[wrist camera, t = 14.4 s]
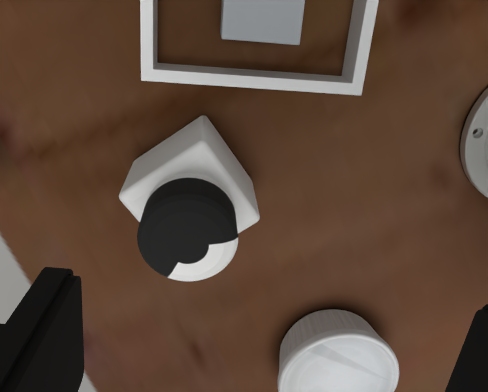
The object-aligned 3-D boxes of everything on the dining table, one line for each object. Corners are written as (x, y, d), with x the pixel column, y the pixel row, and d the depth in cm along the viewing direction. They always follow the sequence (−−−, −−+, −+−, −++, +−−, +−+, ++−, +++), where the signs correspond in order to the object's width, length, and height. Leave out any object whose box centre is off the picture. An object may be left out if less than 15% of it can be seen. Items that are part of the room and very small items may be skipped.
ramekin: (384, 293, 45) (405, 330, 40) (377, 379, 49) (395, 421, 44) (269, 303, 44) (276, 342, 39) (273, 389, 49) (280, 433, 44)
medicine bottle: (132, 160, 37) (99, 232, 26) (204, 112, 36) (202, 166, 25) (184, 224, 40) (174, 314, 29) (253, 181, 39) (270, 258, 28)
